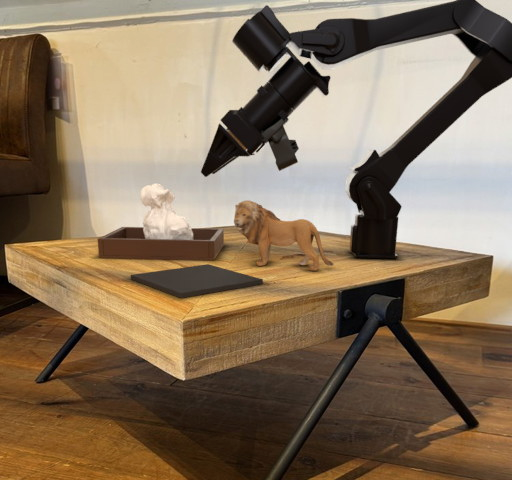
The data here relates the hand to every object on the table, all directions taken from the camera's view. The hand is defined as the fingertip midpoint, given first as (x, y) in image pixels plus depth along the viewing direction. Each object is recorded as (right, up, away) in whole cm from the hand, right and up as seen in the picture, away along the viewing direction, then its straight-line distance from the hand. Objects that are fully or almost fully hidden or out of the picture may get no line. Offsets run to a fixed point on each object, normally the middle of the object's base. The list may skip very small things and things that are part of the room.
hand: (207, 173), depth 88 cm
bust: (-7, -11, +4) cm, 14 cm away
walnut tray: (-7, -11, +4) cm, 14 cm away
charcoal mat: (0, -18, -16) cm, 25 cm away
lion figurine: (+11, -15, -6) cm, 20 cm away
